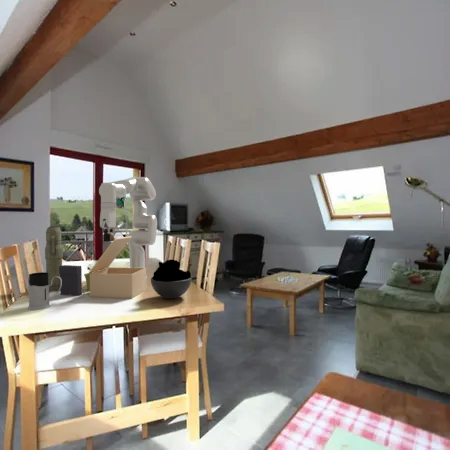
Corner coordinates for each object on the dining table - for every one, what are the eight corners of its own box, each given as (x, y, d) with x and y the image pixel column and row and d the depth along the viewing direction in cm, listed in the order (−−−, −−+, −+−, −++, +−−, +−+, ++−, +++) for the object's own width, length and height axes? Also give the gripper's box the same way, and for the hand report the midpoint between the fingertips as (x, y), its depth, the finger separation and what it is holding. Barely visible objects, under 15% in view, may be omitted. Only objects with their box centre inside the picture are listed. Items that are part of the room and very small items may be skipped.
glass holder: (34, 304, 147) (33, 272, 146) (66, 304, 148) (65, 271, 147) (23, 310, 138) (23, 275, 138) (57, 309, 139) (57, 275, 139)
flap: (108, 267, 180) (97, 257, 180) (131, 236, 178) (120, 227, 178) (89, 273, 159) (76, 262, 160) (115, 239, 157) (102, 228, 158)
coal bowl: (186, 291, 171) (186, 257, 171) (196, 300, 153) (196, 261, 152) (148, 295, 164) (147, 258, 164) (154, 305, 146) (153, 264, 145)
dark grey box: (83, 294, 167) (82, 265, 166) (77, 296, 162) (76, 266, 162) (65, 292, 170) (65, 264, 169) (59, 294, 165) (58, 266, 165)
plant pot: (80, 290, 175) (80, 274, 175) (91, 286, 184) (91, 271, 184) (95, 291, 173) (94, 275, 173) (105, 287, 182) (105, 272, 182)
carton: (108, 288, 180) (108, 267, 179) (146, 289, 177) (146, 267, 177) (89, 297, 160) (89, 273, 159) (132, 298, 157) (132, 274, 157)
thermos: (45, 292, 170) (44, 227, 169) (45, 288, 180) (44, 226, 180) (64, 290, 175) (63, 226, 174) (62, 286, 185) (61, 226, 184)
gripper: (108, 206, 177) (109, 239, 177) (94, 205, 160) (94, 242, 160) (122, 206, 176) (122, 240, 176) (108, 205, 159) (108, 242, 160)
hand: (109, 240), depth 168 cm, fingers closed on flap, 4 cm apart
